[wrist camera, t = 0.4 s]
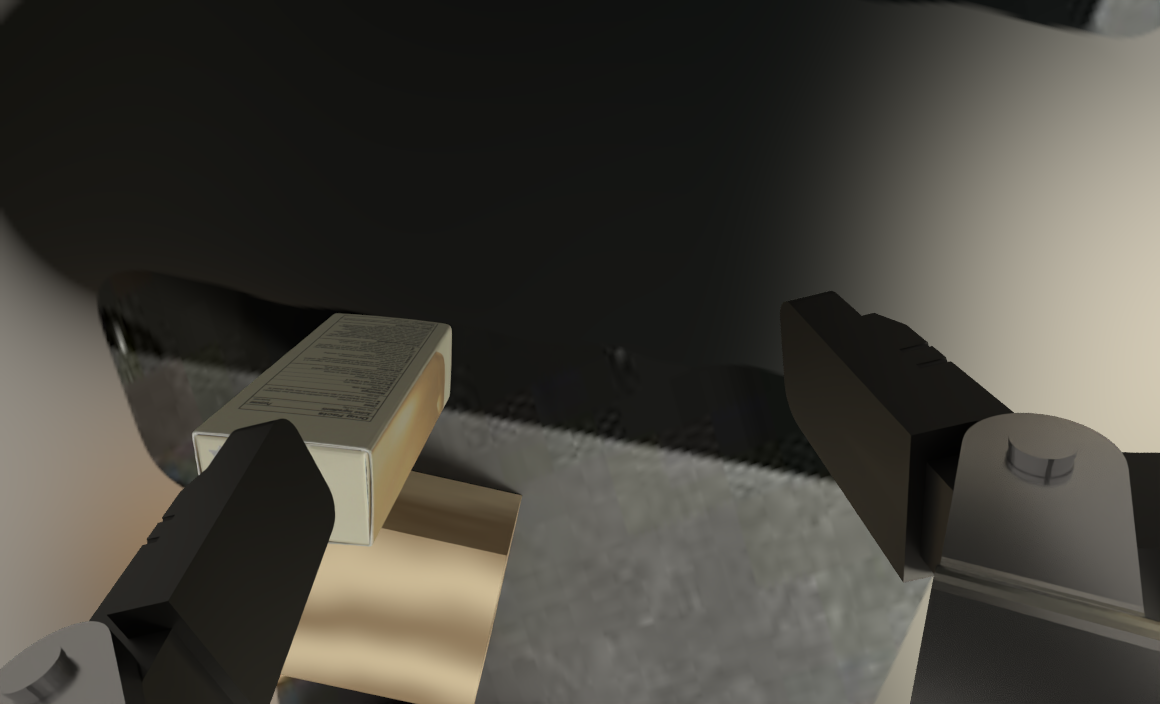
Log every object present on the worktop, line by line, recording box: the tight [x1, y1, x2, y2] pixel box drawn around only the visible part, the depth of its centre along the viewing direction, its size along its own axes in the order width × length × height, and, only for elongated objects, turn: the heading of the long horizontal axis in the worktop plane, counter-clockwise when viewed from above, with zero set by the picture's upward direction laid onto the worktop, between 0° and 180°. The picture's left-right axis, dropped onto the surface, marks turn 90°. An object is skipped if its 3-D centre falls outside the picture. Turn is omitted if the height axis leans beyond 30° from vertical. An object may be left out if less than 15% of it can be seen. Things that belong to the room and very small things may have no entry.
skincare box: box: [192, 313, 452, 547], centre depth 27 cm, size 6×4×12 cm
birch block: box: [280, 471, 522, 704], centre depth 36 cm, size 12×12×5 cm
